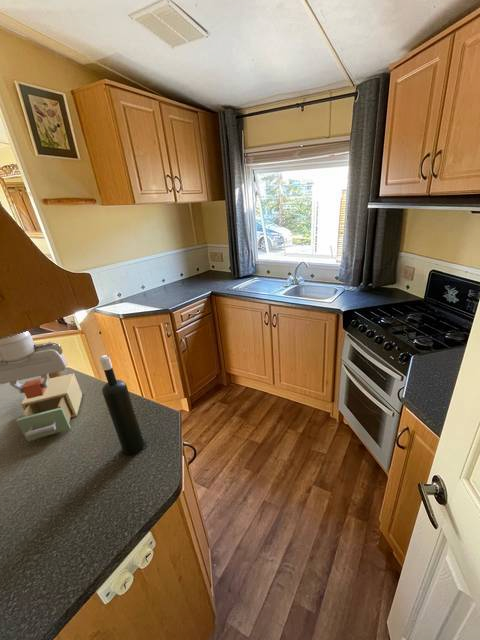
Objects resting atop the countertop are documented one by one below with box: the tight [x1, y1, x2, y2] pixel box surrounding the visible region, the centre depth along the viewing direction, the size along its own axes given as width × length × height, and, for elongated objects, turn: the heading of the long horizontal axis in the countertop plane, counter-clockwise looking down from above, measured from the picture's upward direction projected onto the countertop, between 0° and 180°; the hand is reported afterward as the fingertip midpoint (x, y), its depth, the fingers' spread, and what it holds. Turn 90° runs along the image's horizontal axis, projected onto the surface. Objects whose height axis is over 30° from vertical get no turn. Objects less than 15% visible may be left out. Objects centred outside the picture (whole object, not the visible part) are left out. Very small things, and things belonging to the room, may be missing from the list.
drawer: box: [16, 396, 72, 442], centre depth 92 cm, size 18×11×8 cm, turn 25°
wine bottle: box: [98, 354, 145, 456], centre depth 78 cm, size 6×6×30 cm
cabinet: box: [20, 372, 83, 419], centre depth 101 cm, size 15×13×10 cm
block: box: [22, 377, 46, 399], centre depth 88 cm, size 4×4×4 cm
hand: (34, 389), depth 88 cm, fingers closed on block, 4 cm apart
